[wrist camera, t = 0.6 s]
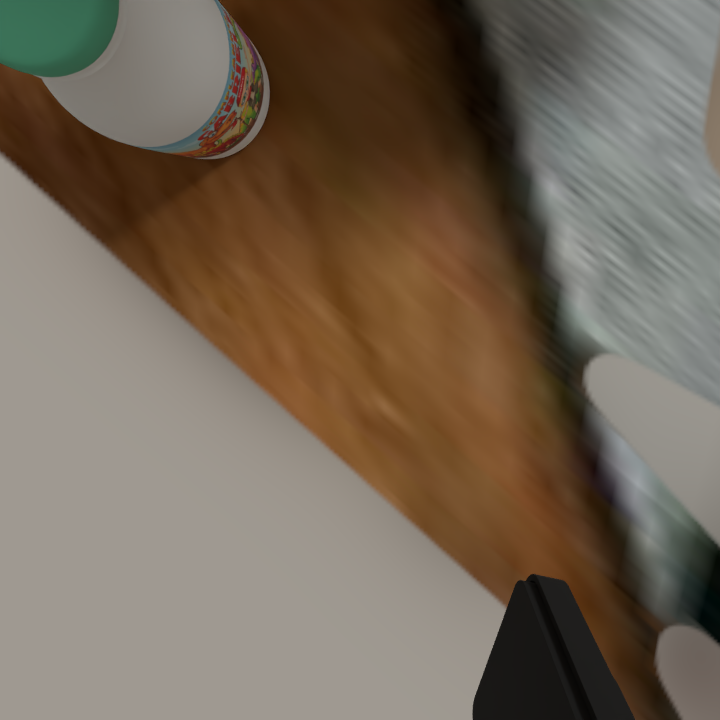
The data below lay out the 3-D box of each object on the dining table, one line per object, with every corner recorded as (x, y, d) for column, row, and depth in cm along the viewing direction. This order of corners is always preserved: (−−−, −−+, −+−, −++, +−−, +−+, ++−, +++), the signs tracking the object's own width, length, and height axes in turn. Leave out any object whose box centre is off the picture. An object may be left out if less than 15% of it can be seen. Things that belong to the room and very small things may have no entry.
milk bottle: (149, 160, 36) (-97, 128, 17) (135, 20, 34) (-165, -198, 15) (274, 160, 36) (168, 127, 17) (268, 19, 34) (139, -202, 15)
